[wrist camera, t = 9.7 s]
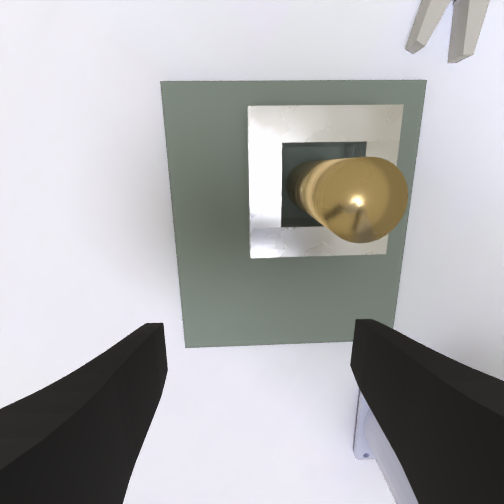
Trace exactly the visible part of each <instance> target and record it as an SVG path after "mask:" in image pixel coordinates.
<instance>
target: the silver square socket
mask: <svg viewBox="0 0 504 504" xmlns="http://www.w3.org/2000/svg"><path fill="white" fill-rule="evenodd" d="M403 107H404V104H399V105H287V106H248V108H247V117H246V124H247V173H248V222H249V249H250V257H251V258H270V257H305V256H341V255H376V254H386V250H387V242H388V234H387V235H385V236H384V237H382V238H380V239H378V240H376V241H373V242H369V243H352V242H348V241H346V240H343V239H341V238H340V237H338V236H337V235H335V234H334V233H333V232H331V231H330V230H329V229H327V228H326V227H325V226H323V225H322V224H321V223H319V222H318V221H317V220H315V219H314V218H281V189H282V148H294V147H345V155H344V158H357V157H379V158H383V159H386V160H388V161H390V162H391V163H393V164H394V165H395V166H397V157H398V149H399V141H400V132H401V124H402V115H403Z"/></svg>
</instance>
